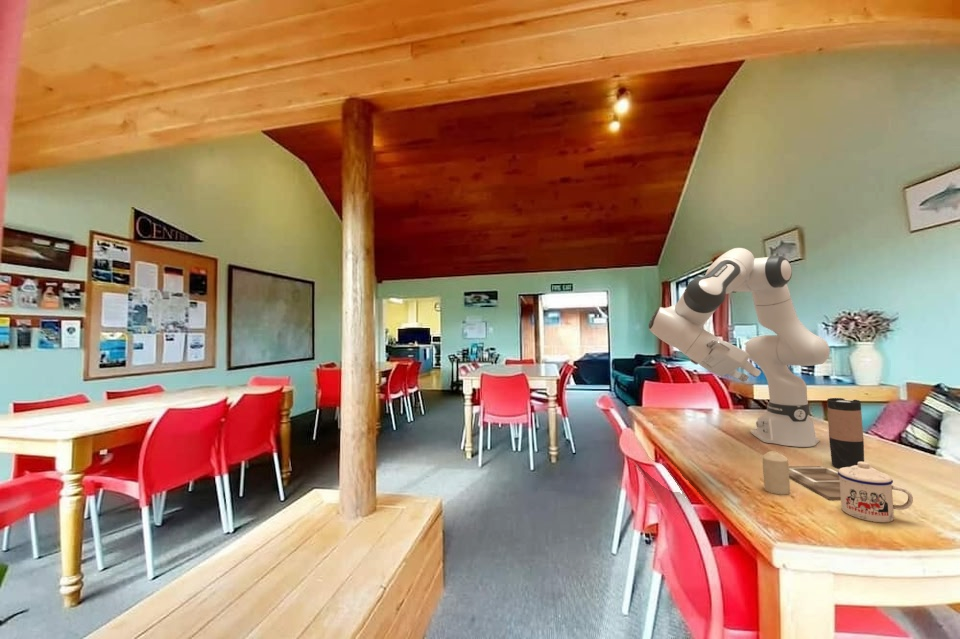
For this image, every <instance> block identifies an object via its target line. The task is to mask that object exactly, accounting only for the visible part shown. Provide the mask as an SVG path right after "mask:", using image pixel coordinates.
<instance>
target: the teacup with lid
mask: <svg viewBox="0 0 960 639" xmlns="http://www.w3.org/2000/svg"><path fill="white" fill-rule="evenodd" d="M837 472H838V475H839V479H840V494H841V500H840V507H841V509H842V511H843V513H846V514H847V515H849V516H851V517H853V518H856V519H859V520H864V521H867V522H872V521H873V522H874V523H890V522H893V520H894V519H895V514H894V510H898V511H900V510H906V509H908V508H910V507H911V506H912V504H913V503H914V496H913V495H912V493H911V492H910V491H909V490H908V489H907V488H904V487H902V486H899V485H893V483H894V480H893V478H892V477H891V476H890V475H889V474H887V473H885V472H881V471H879V470H878V469H875V468H873V467H872V466H871V465H870V463H869V462H866V461H864V462H858V465H854V466H851V467H843V468H840V469H838V471H837ZM893 490H895V491H899V492H902V493H904V494H906V495H907V500H906V501H905V503H903V504H902V505H901V504H894V500H893V499H894V497H893Z"/></svg>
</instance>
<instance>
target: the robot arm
mask: <svg viewBox="0 0 960 639" xmlns="http://www.w3.org/2000/svg"><path fill="white" fill-rule="evenodd" d="M792 276H793V270H792V265H791V263H790V260H789V259H787V258H786V257H784V256H783V255H782V256H781V255H770V256H767V257H766V256H765V257H755V256H754V254H753V253H752V252H751V251H750V250H749V249H746V248H744V247H734V248H731V249H730V250H727V251H726V252H724V253H723V254H721V255H719V257H717V258H716V259H715V260H714V262H712V264H711V265H710V266H709V267H708V269H707V270H706V273H705V274H704V275H703V276H700V277H697V278H694V279H692V280H691V281H689V282H688V284H687V286H686V287H685V289H684V292H683V294H682V295H681V296H680V298H679V300H677V302H676V303H675V304H673V305H670V306H668V307H662V306H660V307H658V308H657V309H656V310H655V312H654V313H653V314H652V316H651V318H650V321H649V323H648V329H649V331H650V333H652V334H653V335H654V336H656V337H657V338H658V339H660V341H662V342H664V343H666V344H667V345H668V346H670V347H672V348H675V349H678V350H679V351H680V352H681V353H682V354H683V355H684V356H686V357H688V358H689V361H690V362H691V364H694V365H700V367H702V368H704V369H705V370H707V371H710V372H711V373H712V374H715V375H717V376H719V377H724V376H725V375H728V376H729V377H731V378H734V379H737V380H739V381H740V382H743V383H745V382H746V381H748V379H749V375H751V376H753V378H757V377H759V376H760V375H761V373H763V375H764V376H765V378H766V381H767V388H768V395H769V396H768V397H769V401H767V402H766V404H765V405H766V406H767V407H766V412H764V413H763V414H762V415H760V416H759V417H758V418H757V420H756V422H755V426H756V428H754V429H750V430H749V433H750V434H752V435H753V436H755V438H758V440H759V441H761V442H763V443H769V444H775V445H781V446H785V447H786V446H787V447H788V446H789V447H798V448H799V447H800V448H801V447H802V448H803V447H804V448H806V447H807V448H809V447H815V446H817V443H820V438H818V437H817V434H816V429H815V423H814V419H813V418H812V417H811V416H810V414H811V411H810V410H811V407H810V404H809V403H808V390H807V389H808V388H807V383H806V381H805V380H804V379H803V378H801V377H799V376H797V375H795V374H794V373H792V371H791V370H790V368H789V367H788V366H798V367H799V366H800V367H802V366H803V367H810V366H818V365H822V364H824V363H825V362H826V361H827V360H828V359H829V357H830V354H831V353H830V352H831V350H830V346H829V344H828V342H827V341H826V340H825V339H824V338H823V337H821V336H818V334H815V333H813V332H812V331H810V330H809V329H808V328H807V327H806V326H805V325H804V324H803V323H802V322H801V320H800V319H799V318H798V315H797V312H796V310H795V306H794V303H793V298H792V296H791V293H790V292H791V291H790V289H789V286H788V283H789V282H790V280H791V279H792ZM741 292H742V293H746V292H751V296H752V301H753V305H754V309H755V313H756V317H757V320H758V322H759V324H760V325H761V326H762V327H763V328H765V329H767V330H770V331H772V332H773V333H774V335H773V334H770V335H769V334H768V335H767V334H765V335H759V336H758V335H757V336H753V337H751V338H750V339H748V341H747V342H746V345H745V350H743V349H742V348H740V347H738V346H736V345H734V344H732V343H730V342H728V341H725V340H720V338H719V337H718V336H716V335H715V334H713V333H711V332H710V331H708V330H706V329H704V328H702V327H704V325H705V324H706V323H707V321H708V320H709V319H710V318H711V317H712V315H713V314H714V313H715V312H716V311H717V309H718V308H720V306H721V305H723V303H724V302H725V299H726V296H727V295H729V294H731V293H733V294H734V293H741ZM719 340H720V341H719ZM748 360H750V361H752V362H753V363H754V364H756V365H757V366H758V367H759V368H760V369H758V368H757V367H756V366H754V364H753V363H752V362H750V361H748ZM738 369H742V370H745V371H746V372H748V373H749V375H746V374H745V373H744V372H741V371H738Z"/></svg>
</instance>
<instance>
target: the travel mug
mask: <svg viewBox="0 0 960 639" xmlns="http://www.w3.org/2000/svg"><path fill="white" fill-rule="evenodd" d="M826 401H827V403H826V404H827V405H826V406H827V422H828V424H827V425H828V439H829V449H830V458H831V459H830V460H831V465H832V467H834V468H836V469H838V470H839V469H840V468H843V467H851V466H854V465H858V462H865V442H864V431H863V430H864V427H863V418H862V416H863V415H862V405H861V404H862V402H861V401H860V400H858V399H852V400H846V399H845V398H841V397H838V398H837V397H833V398H832V397H830V398H827V400H826Z"/></svg>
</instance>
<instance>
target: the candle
mask: <svg viewBox="0 0 960 639" xmlns="http://www.w3.org/2000/svg"><path fill="white" fill-rule="evenodd" d="M761 458H762V460H761V461H762V470H763V471H762V474H763V487H764V490H765V491H766V492H768V493H770V494H771V493H772V494H775V495H789V494H790V493H791V484H790V483H791V482H790V478H789V459H788V458H787V457H786V456H784V455H783V454H782V453H780V452H777V451H775V450H771V451H770V450H769V451H767V452H766V453H765V454H763V455H762V457H761Z"/></svg>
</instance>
